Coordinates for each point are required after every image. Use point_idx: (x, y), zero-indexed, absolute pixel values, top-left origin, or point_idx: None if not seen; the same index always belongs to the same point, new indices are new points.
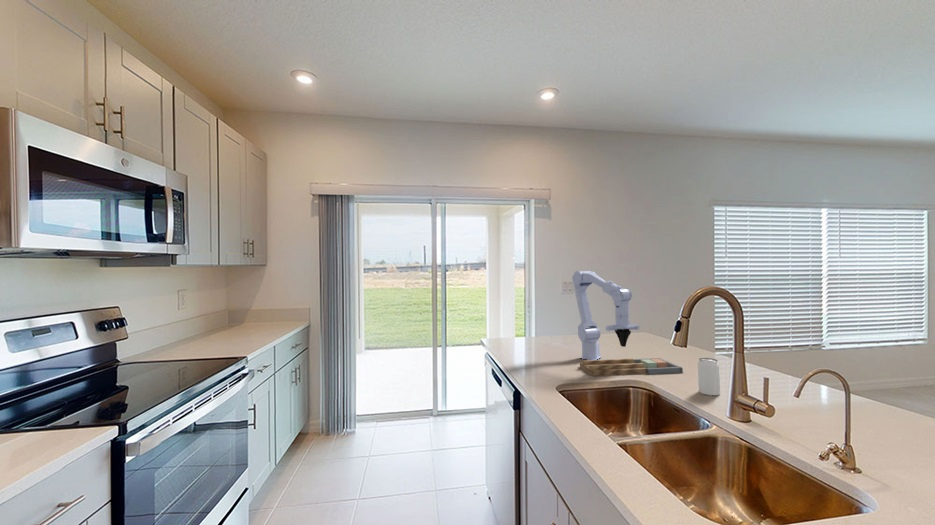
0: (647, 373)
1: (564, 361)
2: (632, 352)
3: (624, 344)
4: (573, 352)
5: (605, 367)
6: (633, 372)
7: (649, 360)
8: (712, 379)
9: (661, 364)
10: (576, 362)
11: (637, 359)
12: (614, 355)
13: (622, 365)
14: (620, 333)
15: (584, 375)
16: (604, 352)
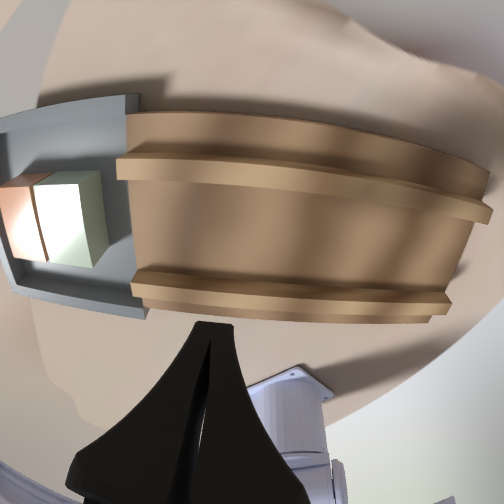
0: (138, 105)
1: (403, 375)
2: (90, 396)
3: (210, 338)
4: None
5: (416, 186)
6: (231, 113)
7: (53, 240)
8: None
9: (21, 182)
10: (376, 363)
11: (100, 305)
12: None
13: (295, 167)
14: (302, 487)
15: (490, 188)
16: None
